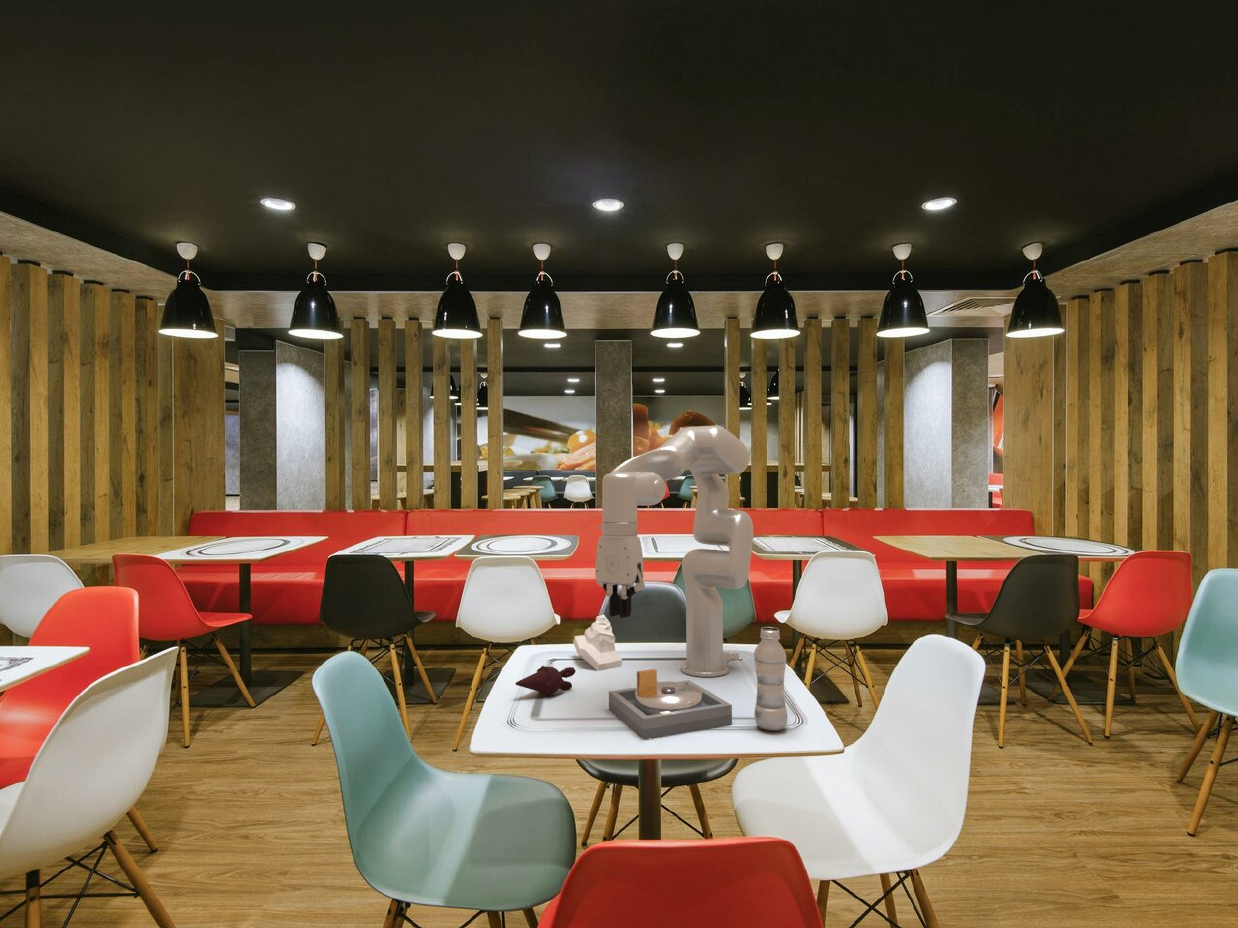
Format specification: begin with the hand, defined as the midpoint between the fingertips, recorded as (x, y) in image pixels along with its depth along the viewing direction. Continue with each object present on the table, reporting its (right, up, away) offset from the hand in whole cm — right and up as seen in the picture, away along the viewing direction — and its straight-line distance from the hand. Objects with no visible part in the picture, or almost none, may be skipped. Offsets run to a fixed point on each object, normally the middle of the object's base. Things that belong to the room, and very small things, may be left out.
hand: (620, 615), depth 143 cm
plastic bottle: (+30, -21, -9) cm, 38 cm away
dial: (+10, -19, -2) cm, 22 cm away
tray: (+10, -21, -2) cm, 23 cm away
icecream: (-17, -22, +13) cm, 31 cm away
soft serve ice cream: (-6, -22, +39) cm, 45 cm away
